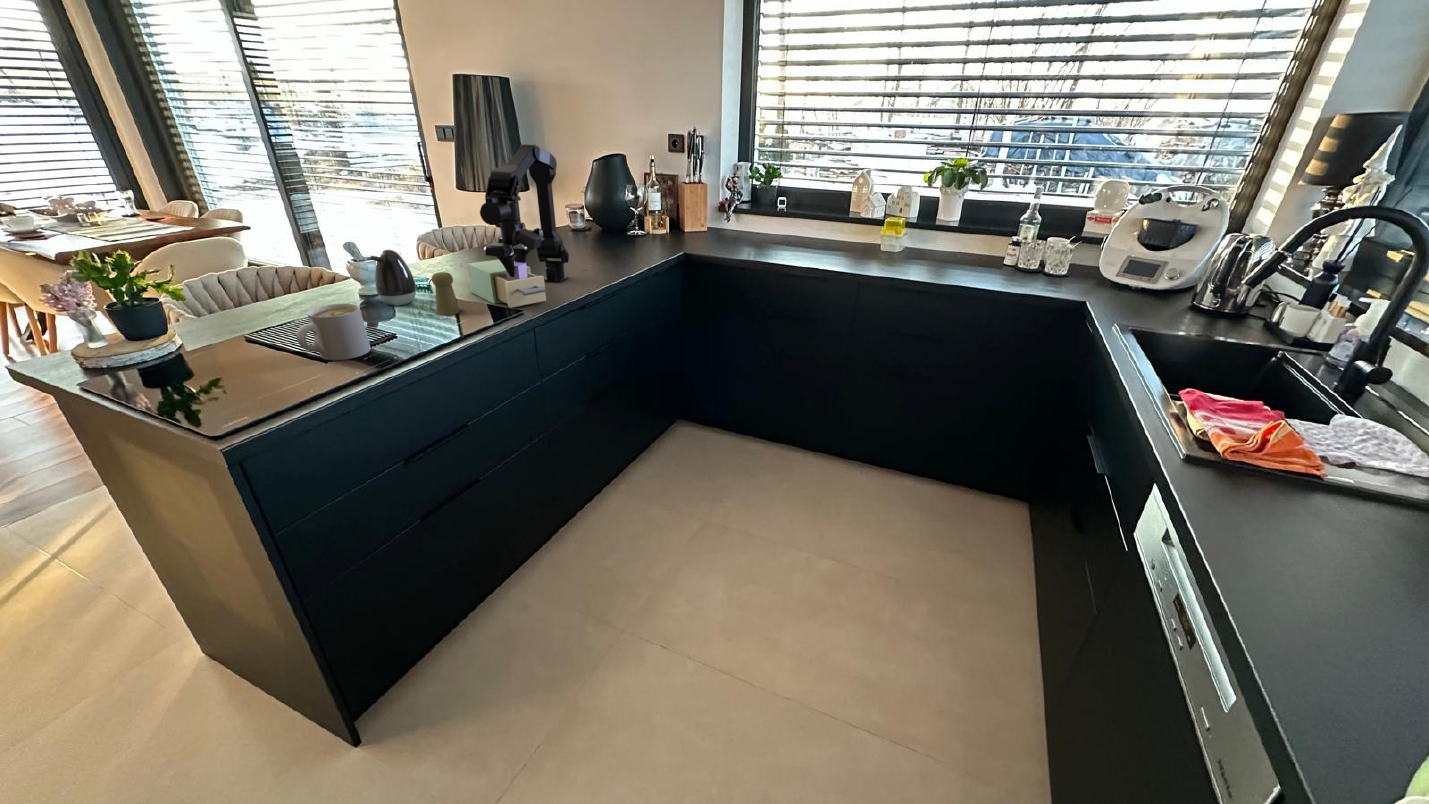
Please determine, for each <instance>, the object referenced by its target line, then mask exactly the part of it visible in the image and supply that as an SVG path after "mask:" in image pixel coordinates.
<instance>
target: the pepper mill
mask: <svg viewBox="0 0 1429 804" xmlns="http://www.w3.org/2000/svg"><path fill="white" fill-rule="evenodd" d="M431 282H432V284H433V285H434V289H435V306H436V307H435V309H436V310H435V311H436V314H437V315H439V316H454V315H457V314H459V313H461V309H460V306H459V303H458V300H457V297H456V294H455V291H454V287H453V285H452V284H453V282H454V279H453V276H452V274H451V273H450V272H446V271H440V272H435V273H433V274H432V275H431Z"/></svg>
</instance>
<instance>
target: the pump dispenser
mask: <svg viewBox="0 0 1429 804" xmlns="http://www.w3.org/2000/svg"><path fill="white" fill-rule="evenodd" d="M369 258H370V259H369V260H372V261H375V262H376V263H375V270H374V283H375V284H374V285H375V286H374V287H375V291H376V294H377V295H378V296H379V297H380V300H382V301H383V302H384V303H385V304H387V305H390V306H404V305H407V304H410V303H412V302H413V301H414V299H415V297H416V293H417V290H418V289H417V284H416V280H415V279H414V276H413V273H412V271H411V270H410V268H409V266H408V263H406V261H405V260H404V259H403V257H402V256H401V255H400V254H399V253H398V252H397V251H395V250H393V249H385V250H382V251H381V252H380V253H379V254H378V256H376V255H370V256H369Z"/></svg>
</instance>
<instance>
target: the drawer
mask: <svg viewBox="0 0 1429 804" xmlns="http://www.w3.org/2000/svg"><path fill="white" fill-rule="evenodd" d="M527 276H528V277H527V278H524V279H518V280H508V279H507V276H506V274H500V275H494V276H493V281H494V288H495V294H496V298H497V299H499V300H501V301H503V302H502V303H505V304H507V307H508V308H509V309H511V308H512V309H513V308H516V307H520V306H527V305H531V304H536V303H541V302H546V301H547V295H546V284H545V281H544V278H545V276H544V275H537V274H534V273H532V272H531V273H529V272H527Z"/></svg>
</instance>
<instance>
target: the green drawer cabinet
mask: <svg viewBox="0 0 1429 804" xmlns="http://www.w3.org/2000/svg"><path fill="white" fill-rule="evenodd" d="M514 262H515V261H514ZM526 267H527V272H529V273H532V272H531V267H530V266H529V265H526ZM467 269H468V273H469V280H470V287H471V292H472V294H474V295H476V296H478V297H480V298H482V299H484V300H485V301H488V302H489V303H492V304H494V305H497V304H502V303H504V302H503V301H501V300H499V299H497V298H496V294H495V288H494V281H493V276H494V275H500V274H506V269H505V267H504V266H503V264H502V263H501V262H500V260H499V259H498V258H496V259H491V260H484V261H475V262H470V263H467Z"/></svg>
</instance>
